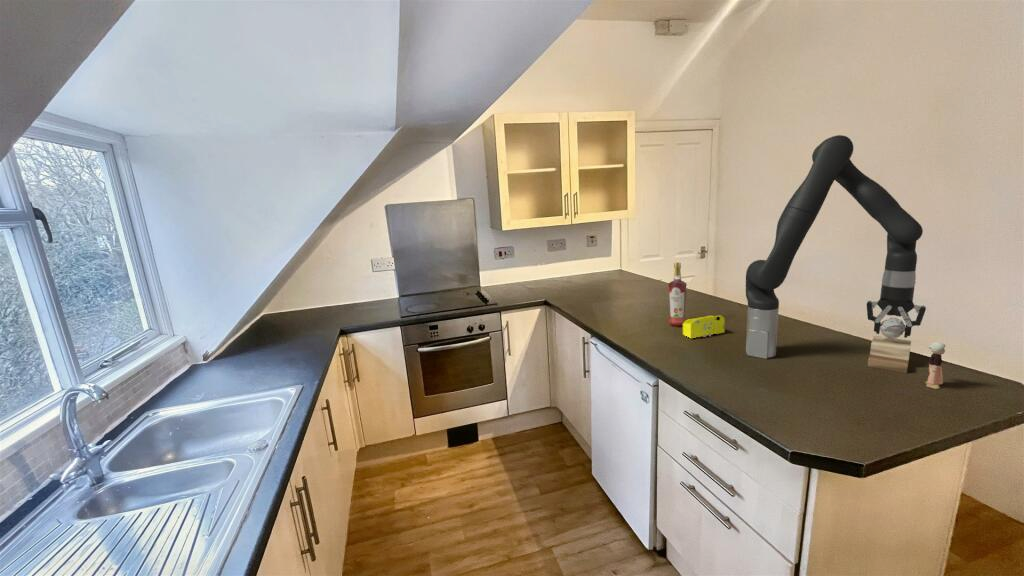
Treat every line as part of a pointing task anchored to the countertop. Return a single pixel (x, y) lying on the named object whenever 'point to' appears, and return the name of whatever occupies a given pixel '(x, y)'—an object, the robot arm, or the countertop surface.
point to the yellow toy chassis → (703, 326)
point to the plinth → (889, 354)
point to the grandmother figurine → (935, 365)
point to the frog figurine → (892, 328)
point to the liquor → (677, 298)
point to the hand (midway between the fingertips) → (891, 334)
